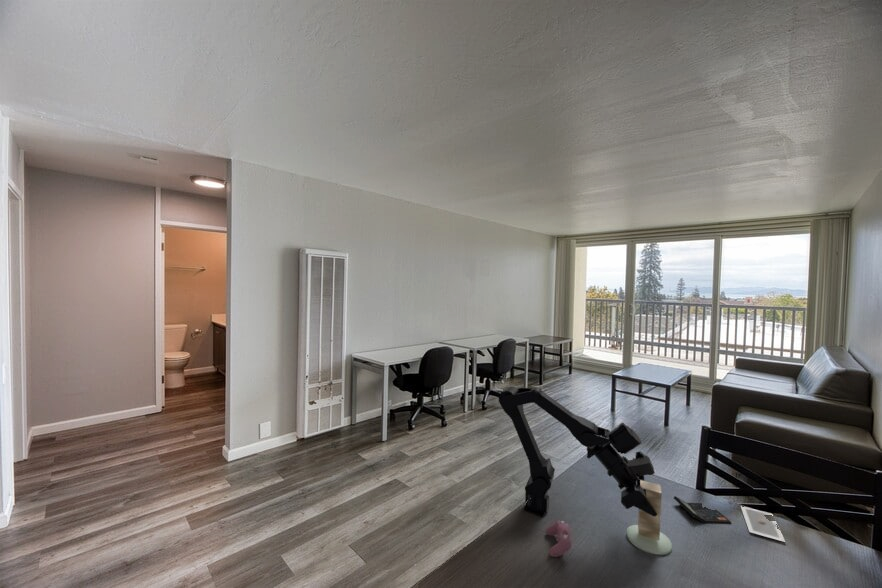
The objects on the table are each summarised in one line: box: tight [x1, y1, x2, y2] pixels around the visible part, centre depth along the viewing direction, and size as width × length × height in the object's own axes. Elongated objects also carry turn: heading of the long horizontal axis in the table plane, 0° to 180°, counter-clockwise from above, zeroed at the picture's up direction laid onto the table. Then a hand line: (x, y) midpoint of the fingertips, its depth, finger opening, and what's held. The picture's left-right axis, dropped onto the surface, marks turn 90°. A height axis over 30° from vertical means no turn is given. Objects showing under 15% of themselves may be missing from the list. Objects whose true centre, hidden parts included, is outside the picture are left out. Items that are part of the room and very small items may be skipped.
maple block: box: [637, 480, 663, 540], centre depth 102 cm, size 5×5×13 cm
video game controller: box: [545, 520, 573, 558], centre depth 99 cm, size 10×5×7 cm, turn 170°
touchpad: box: [740, 505, 786, 543], centre depth 110 cm, size 8×15×2 cm, turn 148°
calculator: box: [673, 495, 732, 525], centre depth 115 cm, size 9×12×3 cm
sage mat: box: [626, 524, 673, 556], centre depth 102 cm, size 11×11×1 cm
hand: (655, 510), depth 101 cm, fingers closed on maple block, 5 cm apart
